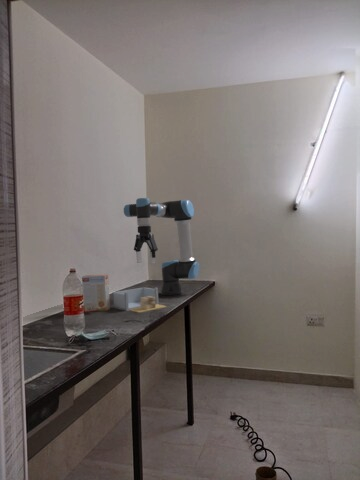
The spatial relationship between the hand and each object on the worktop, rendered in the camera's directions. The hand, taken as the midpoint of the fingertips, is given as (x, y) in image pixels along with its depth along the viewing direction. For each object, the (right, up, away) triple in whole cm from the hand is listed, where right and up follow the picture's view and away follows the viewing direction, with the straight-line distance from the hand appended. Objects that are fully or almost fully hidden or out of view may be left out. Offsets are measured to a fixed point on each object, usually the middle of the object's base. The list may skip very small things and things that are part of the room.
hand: (146, 263), depth 220 cm
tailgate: (-2, -26, +4) cm, 26 cm away
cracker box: (-29, -28, +5) cm, 41 cm away
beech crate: (+1, -25, 0) cm, 25 cm away
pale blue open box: (-7, -27, +10) cm, 29 cm away
